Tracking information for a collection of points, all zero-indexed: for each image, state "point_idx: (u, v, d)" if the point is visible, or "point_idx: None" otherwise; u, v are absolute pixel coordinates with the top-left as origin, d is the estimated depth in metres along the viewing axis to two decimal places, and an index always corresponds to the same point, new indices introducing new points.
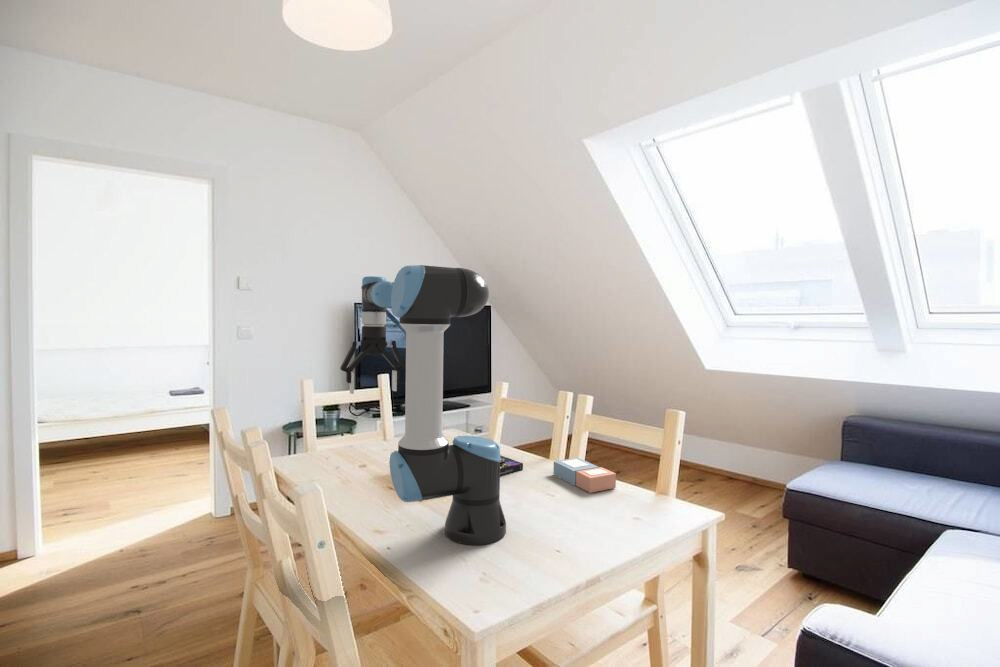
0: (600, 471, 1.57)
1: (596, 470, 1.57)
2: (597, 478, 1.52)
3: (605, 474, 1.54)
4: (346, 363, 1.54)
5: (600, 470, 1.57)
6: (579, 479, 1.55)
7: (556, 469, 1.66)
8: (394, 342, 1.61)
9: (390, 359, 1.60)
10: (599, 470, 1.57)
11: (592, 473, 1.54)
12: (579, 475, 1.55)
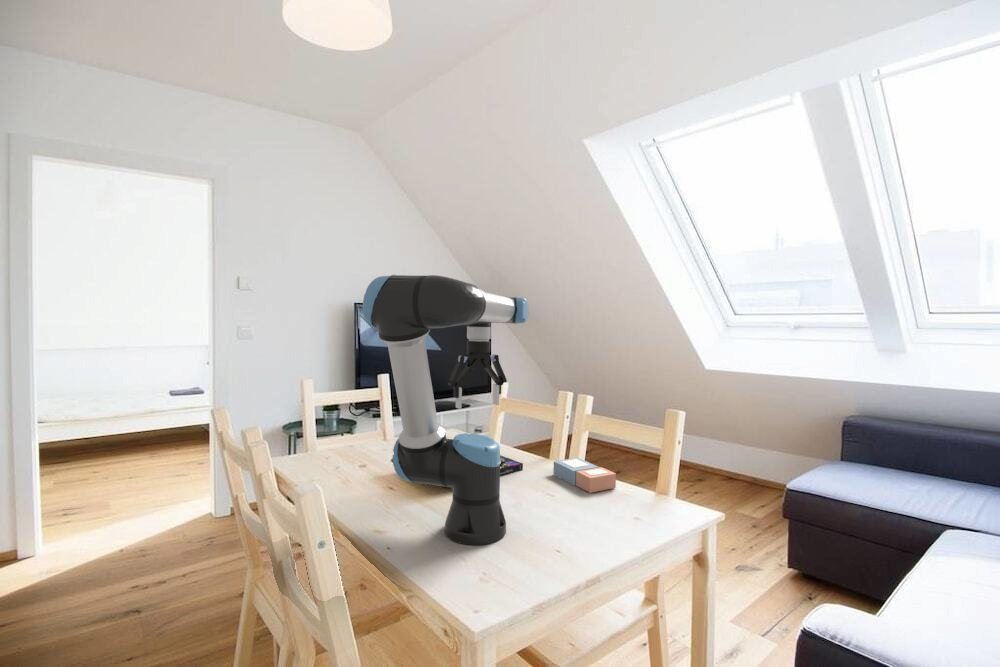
0: (600, 471, 1.57)
1: (596, 470, 1.57)
2: (597, 478, 1.52)
3: (605, 474, 1.54)
4: (455, 378, 1.54)
5: (600, 470, 1.57)
6: (579, 479, 1.55)
7: (556, 469, 1.66)
8: (497, 356, 1.61)
9: (493, 373, 1.61)
10: (599, 470, 1.57)
11: (592, 473, 1.54)
12: (579, 475, 1.55)
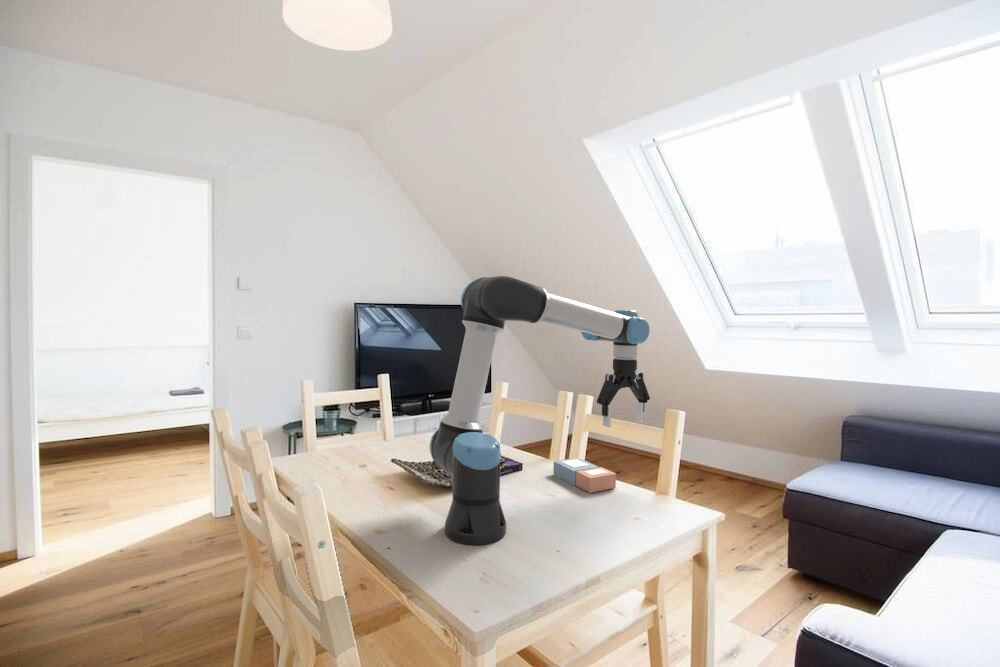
0: (600, 471, 1.57)
1: (596, 470, 1.57)
2: (597, 478, 1.52)
3: (605, 474, 1.54)
4: (605, 397, 1.55)
5: (600, 470, 1.57)
6: (579, 479, 1.55)
7: (556, 469, 1.66)
8: (642, 374, 1.62)
9: (638, 391, 1.61)
10: (599, 470, 1.57)
11: (592, 473, 1.54)
12: (579, 475, 1.55)
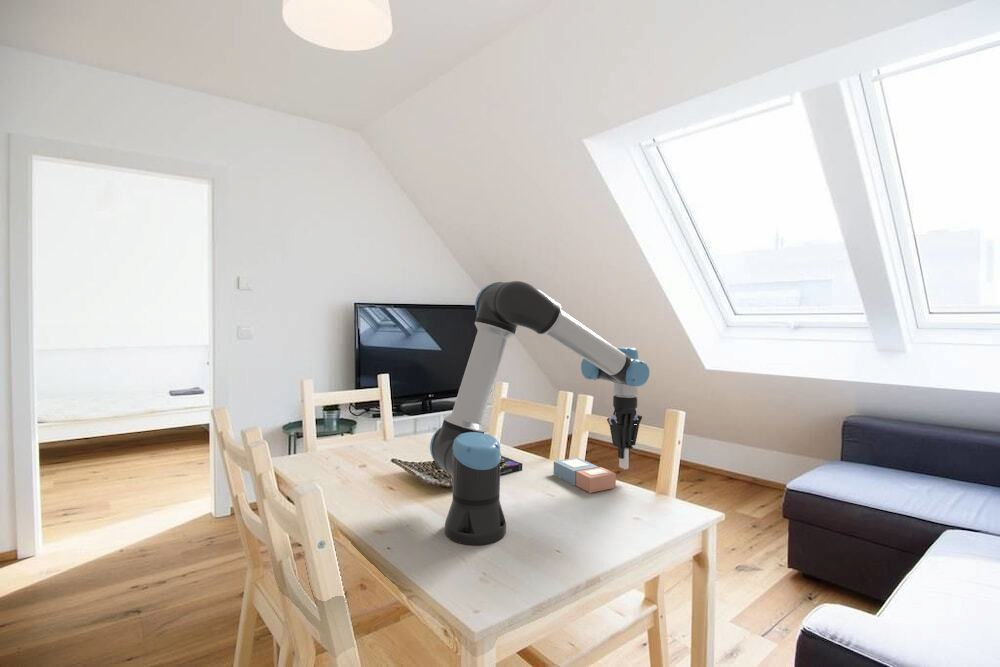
0: (600, 471, 1.57)
1: (596, 470, 1.57)
2: (597, 478, 1.52)
3: (605, 474, 1.54)
4: (618, 440, 1.58)
5: (600, 470, 1.57)
6: (579, 479, 1.55)
7: (556, 469, 1.66)
8: (641, 417, 1.62)
9: (630, 433, 1.60)
10: (599, 470, 1.57)
11: (592, 473, 1.54)
12: (579, 475, 1.55)
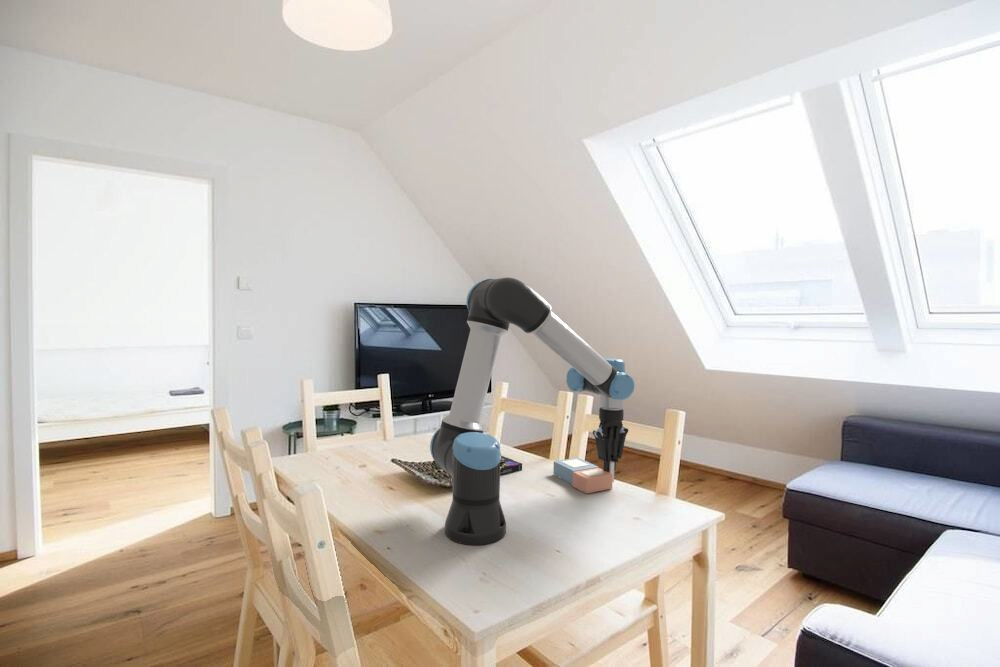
0: (597, 471, 1.56)
1: (593, 471, 1.57)
2: (593, 479, 1.51)
3: (602, 475, 1.53)
4: (603, 453, 1.55)
5: (597, 471, 1.57)
6: (575, 479, 1.55)
7: (556, 469, 1.66)
8: (627, 430, 1.60)
9: (616, 446, 1.58)
10: (596, 471, 1.57)
11: (588, 474, 1.54)
12: (575, 475, 1.55)
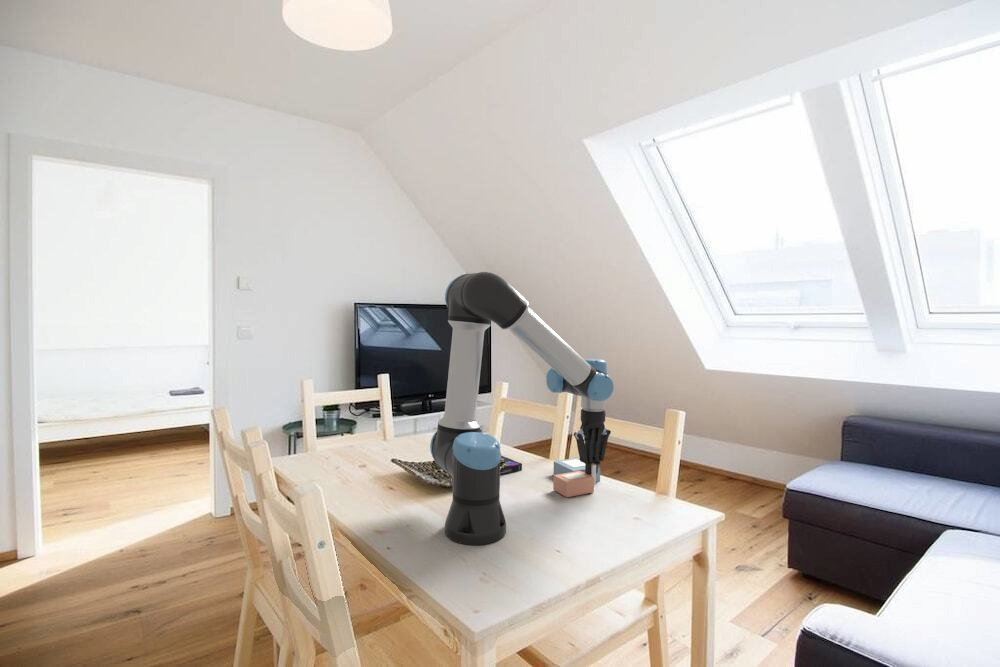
0: (578, 474, 1.53)
1: (574, 474, 1.53)
2: (574, 482, 1.48)
3: (583, 478, 1.50)
4: (585, 455, 1.52)
5: (578, 474, 1.53)
6: (556, 483, 1.51)
7: (556, 469, 1.66)
8: (609, 432, 1.56)
9: (597, 448, 1.54)
10: (577, 474, 1.53)
11: (569, 477, 1.50)
12: (556, 479, 1.51)
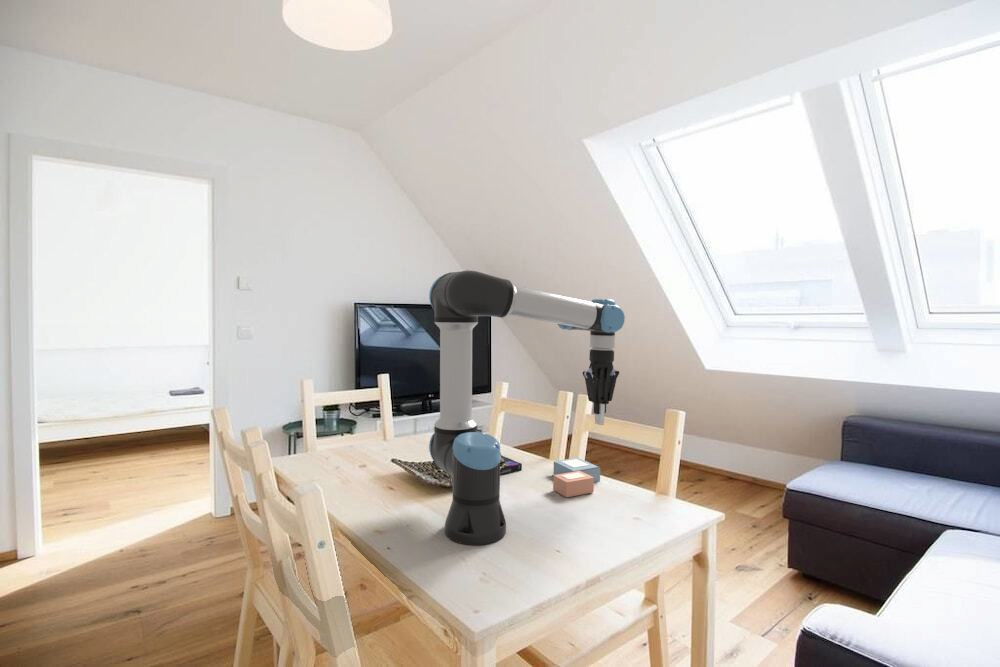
0: (578, 475, 1.53)
1: (574, 474, 1.53)
2: (574, 483, 1.48)
3: (583, 478, 1.50)
4: (593, 394, 1.53)
5: (578, 474, 1.53)
6: (556, 483, 1.51)
7: (556, 469, 1.66)
8: (618, 373, 1.57)
9: (606, 388, 1.55)
10: (577, 474, 1.53)
11: (569, 477, 1.50)
12: (556, 479, 1.51)
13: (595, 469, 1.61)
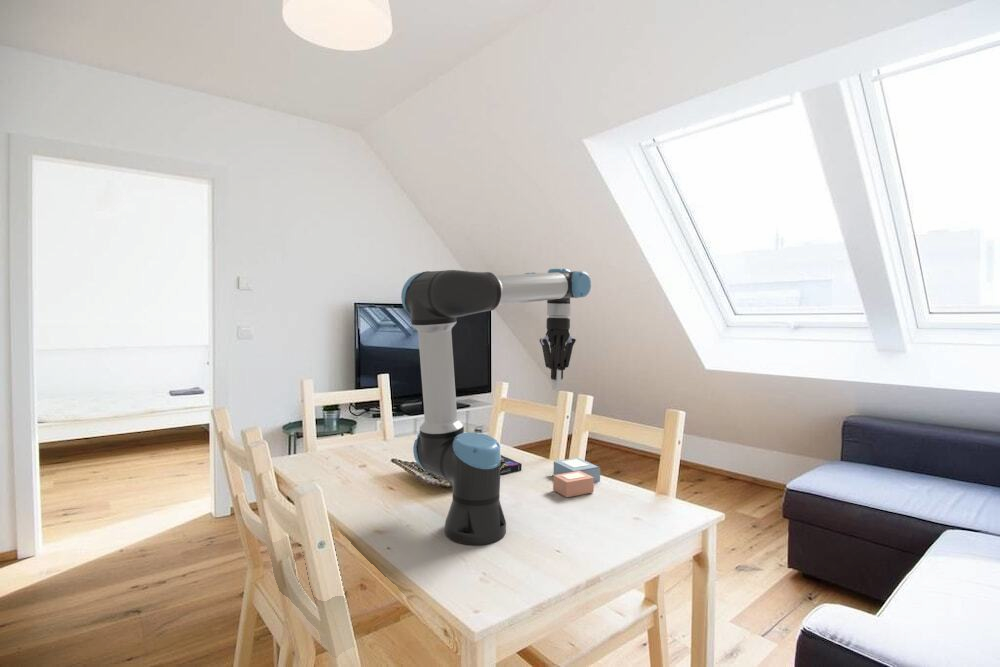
0: (578, 475, 1.53)
1: (574, 474, 1.53)
2: (574, 483, 1.48)
3: (583, 478, 1.50)
4: (550, 360, 1.59)
5: (578, 474, 1.53)
6: (556, 483, 1.51)
7: (556, 469, 1.66)
8: (574, 340, 1.63)
9: (562, 355, 1.61)
10: (577, 474, 1.53)
11: (569, 477, 1.50)
12: (556, 479, 1.51)
13: (595, 469, 1.61)
